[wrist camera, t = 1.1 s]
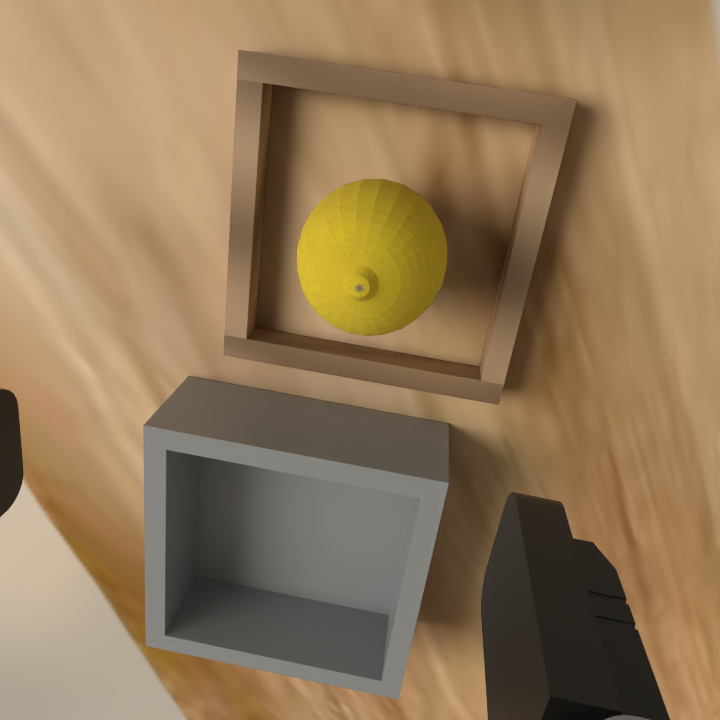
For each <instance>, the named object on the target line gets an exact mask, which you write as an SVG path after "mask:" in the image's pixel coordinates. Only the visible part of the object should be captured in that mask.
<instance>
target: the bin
mask: <svg viewBox="0 0 720 720" xmlns="http://www.w3.org/2000/svg"><path fill="white" fill-rule="evenodd" d="M448 485H449V424H448V423H443V422H437V421H432V420H426V419H421V418H415V417H410V416H404V415H399V414H393V413H388V412H382V411H377V410H371V409H366V408H360V407H355V406H349V405H344V404H339V403H333V402H328V401H322V400H317V399H311V398H306V397H300V396H295V395H289V394H284V393H278V392H273V391H267V390H262V389H256V388H251V387H246V386H240V385H235V384H229V383H224V382H218V381H213V380H207V379H202V378H196V377H191V376H188V377H187V378H186V380H185V381H184V382H183V383H182V384H181V385H180V386H179V387H178V388H177V389H176V390H175V392H174V393H173V394H172V395H171V396H170V397H169V398H168V399H167V400H166V401H165V402H164V404H163V405H162V406H161V407H160V408H159V409H158V410H157V411H156V412H155V413H154V414H153V416H152V417H151V418H150V419H149V420H148V421H147V422H146V423H145V424H144V525H145V628H146V646H149V647H154V648H159V649H164V650H168V651H173V652H178V653H182V654H187V655H192V656H196V657H201V658H206V659H211V660H215V661H220V662H225V663H229V664H234V665H239V666H244V667H248V668H253V669H258V670H262V671H267V672H272V673H276V674H281V675H286V676H291V677H295V678H300V679H305V680H309V681H314V682H319V683H324V684H328V685H333V686H338V687H342V688H347V689H352V690H356V691H361V692H366V693H371V694H375V695H380V696H385V697H389V698H394V699H399V695H400V690H401V686H402V682H403V677H404V673H405V669H406V665H407V660H408V656H409V652H410V648H411V643H412V639H413V635H414V630H415V626H416V622H417V618H418V613H419V609H420V605H421V601H422V596H423V592H424V588H425V583H426V579H427V575H428V571H429V566H430V562H431V558H432V554H433V549H434V545H435V541H436V536H437V532H438V528H439V524H440V519H441V515H442V511H443V507H444V502H445V498H446V494H447V489H448Z"/></svg>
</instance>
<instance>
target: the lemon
mask: <svg viewBox="0 0 720 720" xmlns="http://www.w3.org/2000/svg"><path fill="white" fill-rule="evenodd" d="M446 268H447V241H446V237H445V234H444V230H443V227H442V224H441V222H440V220H439V219H438V217H437V215H436V213H435V212H434V210H433V208H432V207H431V206H430V205H429V204H428V203H427V202H426V201H425V200H424V199H423V198H422V197H421V196H420V195H419V194H418V193H416V192H414V191H413V190H411V189H409V188H408V187H406V186H404V185H403V184H399V183H396V182H392V181H388V180H385V179H364V180H360V181H357V182H353V183H349V184H345V185H344V186H342V187H340V188H338V189H337V190H335V191H333V192H331V193H330V194H328V195H327V196H326V197H325V198H324V199H323V200H322V201H321V202H320V203H319V204H318V205H317V206H316V207H315V208H314V209H313V211H312V213H311V214H310V216H309V218H308V219H307V221H306V223H305V224H304V226H303V229H302V232H301V236H300V239H299V243H298V247H297V271H298V276H299V280H300V284H301V288H302V290H303V292H304V294H305V296H306V298H307V300H308V302H309V304H310V305H311V306H312V307H313V308H314V310H315V311H316V312H317V313H318V314H319V315H320V316H321V317H322V318H323V319H325V320H326V321H327V322H329V323H330V324H331V325H333V326H334V327H336V328H339V329H341V330H344V331H346V332H348V333H352V334H358V335H365V336H371V335H384V334H387V333H390V332H393V331H396V330H399V329H402V328H403V327H405V326H406V325H408V324H410V323H411V322H413V321H414V320H416V319H417V318H419V316H420V315H421V314H422V313H423V312H424V311H425V310H426V309H427V308H428V307H429V306H430V305H431V304H432V302H433V301H434V299H435V297H436V295H437V293H438V291H439V290H440V288H441V286H442V284H443V280H444V276H445V272H446Z"/></svg>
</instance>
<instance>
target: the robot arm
mask: <svg viewBox="0 0 720 720" xmlns="http://www.w3.org/2000/svg"><path fill="white" fill-rule="evenodd" d="M22 480H23V461H22V448H21V436H20V423H19V411H18V402H17V399H16V397H15V395H14V394H13V393H12V392H11V391H9V390H6V389H1V388H0V517H1V516H2V515H3V514H4V513H5V512H6V511H7V510H8V509H9V508H10V507H11V505H12V504H13V503H14V501H15V499H16V497H17V495H18V493H19V491H20V487H21V485H22ZM481 617H482V633H483V648H484V663H485V679H486V694H487V710H488V720H670V718H669V715H668V713H667V710H666V707H665V704H664V702H663V699H662V696H661V693H660V690H659V688H658V685H657V682H656V679H655V677H654V674H653V671H652V668H651V665H650V663H649V660H648V657H647V654H646V652H645V649H644V646H643V643H642V641H641V638H640V635H639V632H638V630H636V629H635V621H634V618H633V616H632V613H631V610H630V607H629V605H628V604H626V596H625V593H624V591H623V588H622V585H621V582H620V579H619V577H618V574H617V571H616V569H615V568H614V567H613V566H612V564H611V563H610V562H609V561H608V560H607V558H606V557H605V556H604V555H603V554H602V553H601V551H600V550H599V549H598V548H597V547H596V545H595V544H594V543H593V542H588V541H583V540H578V539H573V537H572V534H571V530H570V527H569V523H568V520H567V516H566V513H565V509H564V506H563V504H562V503H561V502H559V501H554V500H549V499H544V498H539V497H534V496H529V495H524V494H519V493H514V492H512V493H510V495H509V496H508V498H507V501H506V504H505V507H504V510H503V514H502V517H501V521H500V524H499V527H498V531H497V534H496V538H495V541H494V545H493V548H492V551H491V555H490V558H489V562H488V565H487V569H486V572H485V577H484V582H483V589H482V599H481Z"/></svg>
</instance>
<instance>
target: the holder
mask: <svg viewBox="0 0 720 720" xmlns="http://www.w3.org/2000/svg"><path fill="white" fill-rule="evenodd" d="M273 84H274V85H281V86H287V87H294V88H301V89H307V90H314V91H321V92H327V93H334V94H341V95H347V96H354V97H361V98H367V99H374V100H381V101H387V102H394V103H401V104H407V105H414V106H421V107H427V108H434V109H441V110H447V111H454V112H461V113H467V114H474V115H481V116H487V117H494V118H501V119H507V120H514V121H521V122H527V123H534V124H537V126H536V130H535V134H534V138H533V143H532V147H531V151H530V155H529V159H528V164H527V168H526V172H525V176H524V181H523V185H522V189H521V193H520V198H519V202H518V206H517V210H516V214H515V219H514V223H513V227H512V231H511V236H510V240H509V244H508V248H507V253H506V257H505V261H504V265H503V269H502V274H501V278H500V282H499V286H498V291H497V295H496V299H495V303H494V307H493V312H492V316H491V320H490V324H489V329H488V333H487V337H486V341H485V346H484V350H483V354H482V358H481V362H480V367H477V366H471V365H466V364H460V363H454V362H449V361H443V360H437V359H432V358H426V357H420V356H415V355H409V354H403V353H398V352H392V351H386V350H381V349H375V348H369V347H364V346H358V345H352V344H347V343H341V342H335V341H330V340H324V339H318V338H313V337H307V336H301V335H296V334H290V333H284V332H279V331H273V330H267V329H262V328H256V315H257V301H258V286H259V272H260V258H261V244H262V230H263V216H264V202H265V187H266V173H267V159H268V145H269V131H270V117H271V103H272V88H273ZM576 102H577V100H576V99H569V98H563V97H556V96H549V95H542V94H535V93H529V92H522V91H515V90H508V89H501V88H495V87H488V86H481V85H474V84H467V83H461V82H454V81H447V80H440V79H433V78H427V77H420V76H413V75H406V74H399V73H393V72H386V71H379V70H372V69H365V68H359V67H352V66H345V65H338V64H331V63H325V62H318V61H311V60H304V59H297V58H291V57H284V56H277V55H270V54H263V53H257V52H250V51H243V50H239V51H238V71H237V92H236V112H235V133H234V153H233V174H232V194H231V215H230V235H229V256H228V276H227V296H226V317H225V337H224V355H225V356H231V357H236V358H242V359H247V360H253V361H258V362H264V363H269V364H275V365H281V366H286V367H292V368H297V369H303V370H308V371H314V372H319V373H325V374H331V375H336V376H342V377H347V378H353V379H358V380H364V381H370V382H375V383H381V384H386V385H392V386H397V387H403V388H408V389H414V390H420V391H425V392H431V393H436V394H442V395H447V396H453V397H459V398H464V399H470V400H475V401H481V402H486V403H492V404H497V405H499V401H500V398H501V394H502V390H503V386H504V382H505V378H506V374H507V370H508V366H509V363H510V359H511V355H512V351H513V347H514V343H515V339H516V335H517V332H518V328H519V324H520V320H521V316H522V312H523V308H524V304H525V300H526V297H527V293H528V289H529V285H530V281H531V277H532V273H533V269H534V266H535V262H536V258H537V254H538V250H539V246H540V242H541V238H542V234H543V231H544V227H545V223H546V219H547V215H548V211H549V207H550V203H551V200H552V196H553V192H554V188H555V184H556V180H557V176H558V172H559V168H560V165H561V161H562V157H563V153H564V149H565V145H566V141H567V137H568V134H569V130H570V126H571V122H572V118H573V114H574V110H575V106H576Z"/></svg>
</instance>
